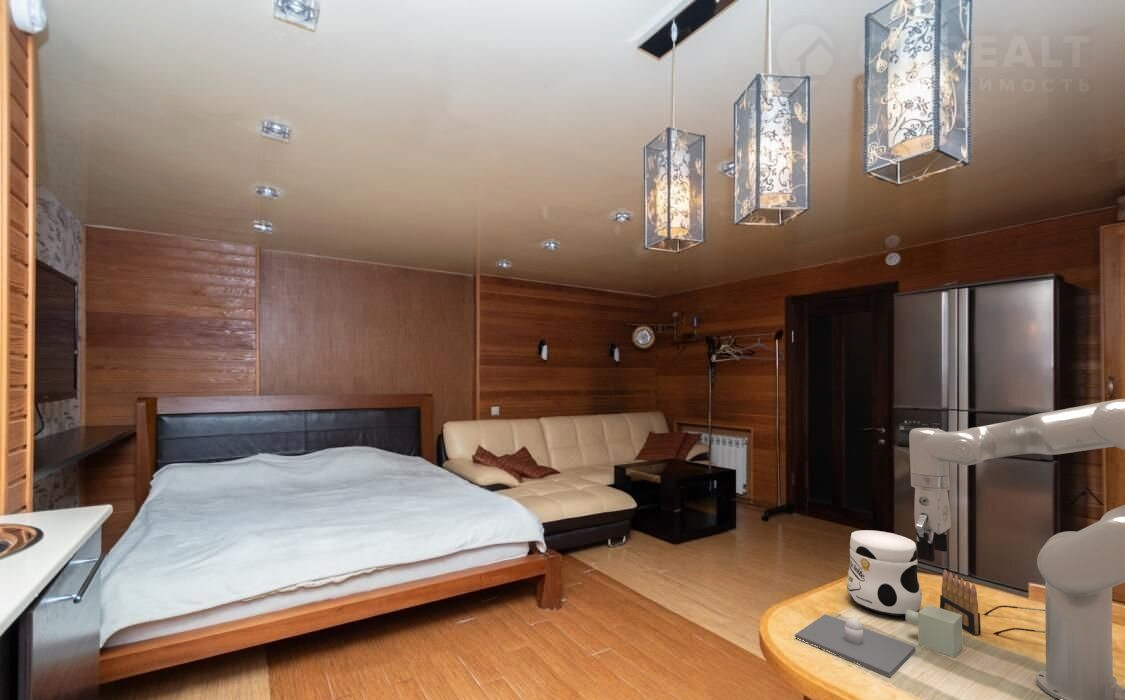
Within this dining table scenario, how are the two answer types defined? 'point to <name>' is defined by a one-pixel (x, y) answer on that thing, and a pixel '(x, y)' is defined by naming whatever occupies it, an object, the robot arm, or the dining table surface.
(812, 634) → the board
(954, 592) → the ammunition clip
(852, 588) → the milk container
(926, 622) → the block with round peg
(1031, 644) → the dining table surface
